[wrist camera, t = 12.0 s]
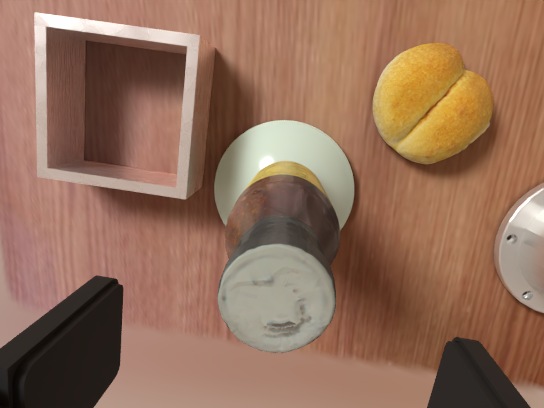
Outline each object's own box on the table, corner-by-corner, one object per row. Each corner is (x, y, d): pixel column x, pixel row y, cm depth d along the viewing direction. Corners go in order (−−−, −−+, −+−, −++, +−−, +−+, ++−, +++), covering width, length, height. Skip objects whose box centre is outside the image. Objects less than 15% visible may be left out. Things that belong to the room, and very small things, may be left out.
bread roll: (424, 25, 29) (444, 11, 25) (498, 107, 30) (528, 106, 26) (346, 104, 31) (354, 103, 27) (419, 179, 32) (436, 188, 28)
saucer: (365, 131, 31) (367, 131, 30) (339, 263, 34) (340, 267, 33) (223, 110, 31) (221, 110, 30) (209, 243, 34) (207, 246, 33)
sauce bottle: (306, 239, 32) (323, 422, 13) (239, 214, 32) (157, 363, 13) (335, 169, 31) (402, 263, 12) (265, 143, 31) (215, 193, 11)
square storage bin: (215, 48, 30) (199, 35, 25) (202, 186, 33) (185, 199, 28) (76, 28, 30) (34, 12, 25) (75, 167, 33) (37, 176, 28)
